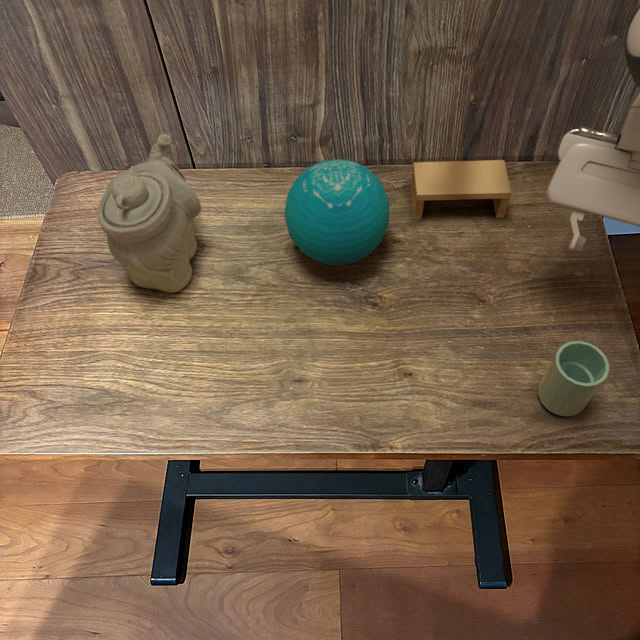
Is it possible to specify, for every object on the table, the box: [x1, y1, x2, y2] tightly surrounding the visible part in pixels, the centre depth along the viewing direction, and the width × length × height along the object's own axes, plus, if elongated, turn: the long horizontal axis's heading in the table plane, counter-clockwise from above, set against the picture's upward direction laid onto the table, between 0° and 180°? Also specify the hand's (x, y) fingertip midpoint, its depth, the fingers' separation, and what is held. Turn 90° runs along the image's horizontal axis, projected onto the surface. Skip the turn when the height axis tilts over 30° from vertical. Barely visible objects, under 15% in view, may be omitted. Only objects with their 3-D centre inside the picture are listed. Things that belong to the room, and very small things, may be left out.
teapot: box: [97, 133, 202, 293], centre depth 88 cm, size 16×15×19 cm
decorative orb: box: [284, 158, 390, 266], centre depth 89 cm, size 15×15×15 cm
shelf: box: [410, 159, 512, 221], centre depth 97 cm, size 14×7×6 cm, turn 90°
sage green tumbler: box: [537, 340, 610, 417], centre depth 77 cm, size 6×6×9 cm
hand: (615, 262), depth 74 cm, fingers open, 8 cm apart
